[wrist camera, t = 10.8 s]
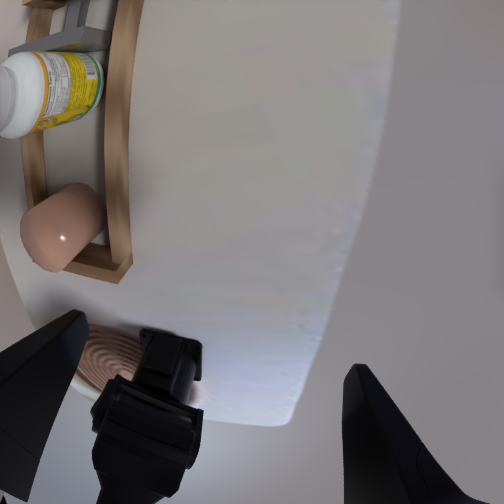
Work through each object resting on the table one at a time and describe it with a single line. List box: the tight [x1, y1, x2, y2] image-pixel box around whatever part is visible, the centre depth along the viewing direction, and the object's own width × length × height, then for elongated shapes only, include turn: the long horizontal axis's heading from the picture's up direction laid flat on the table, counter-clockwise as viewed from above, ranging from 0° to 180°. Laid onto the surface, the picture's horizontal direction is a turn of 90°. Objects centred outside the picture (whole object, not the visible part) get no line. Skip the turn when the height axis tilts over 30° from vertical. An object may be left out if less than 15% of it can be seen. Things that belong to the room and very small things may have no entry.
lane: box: [21, 0, 144, 284], centre depth 15 cm, size 26×10×4 cm, turn 172°
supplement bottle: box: [0, 52, 105, 139], centre depth 12 cm, size 5×5×10 cm
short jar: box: [20, 183, 106, 272], centre depth 19 cm, size 5×5×6 cm
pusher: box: [8, 0, 113, 58], centre depth 11 cm, size 7×7×4 cm
